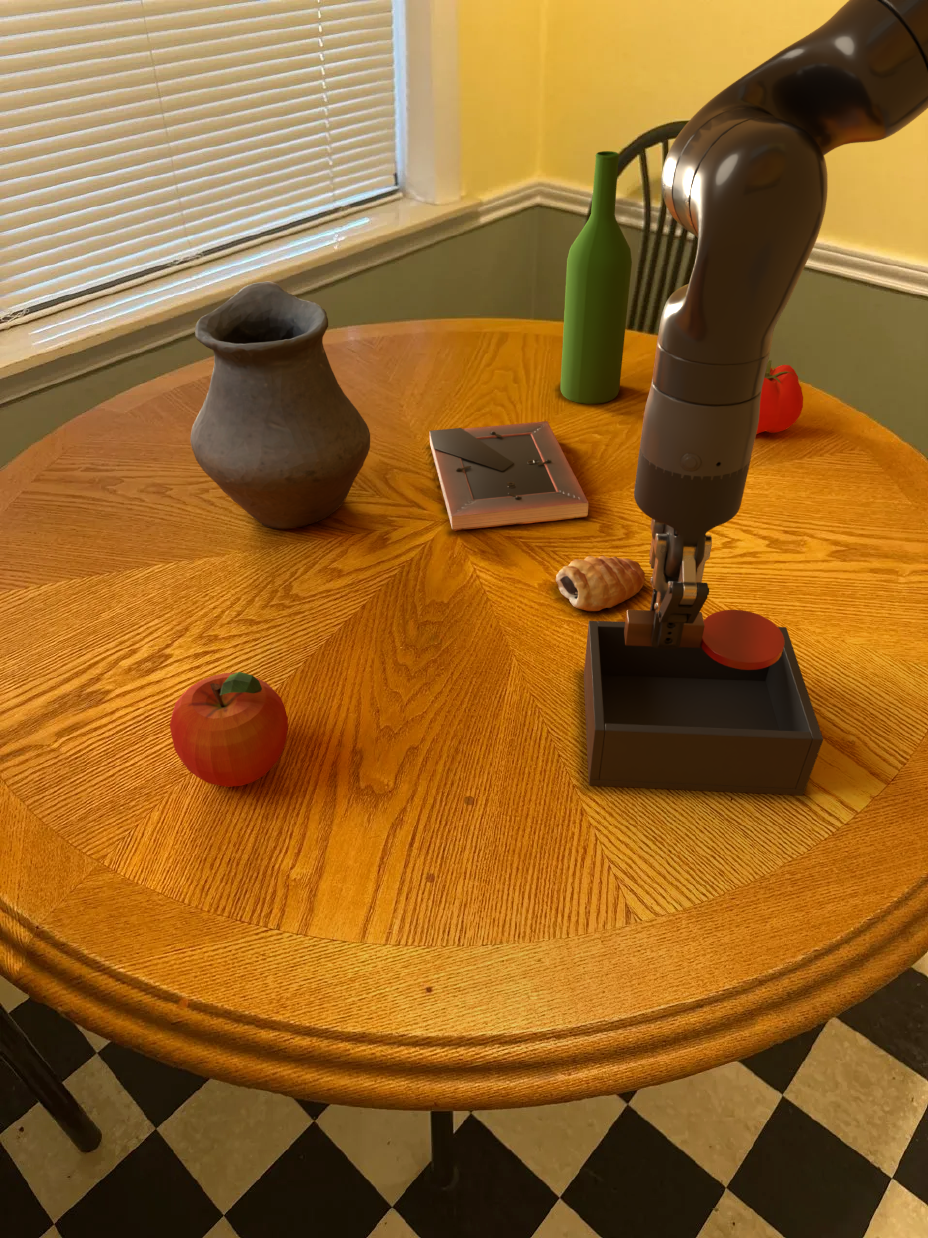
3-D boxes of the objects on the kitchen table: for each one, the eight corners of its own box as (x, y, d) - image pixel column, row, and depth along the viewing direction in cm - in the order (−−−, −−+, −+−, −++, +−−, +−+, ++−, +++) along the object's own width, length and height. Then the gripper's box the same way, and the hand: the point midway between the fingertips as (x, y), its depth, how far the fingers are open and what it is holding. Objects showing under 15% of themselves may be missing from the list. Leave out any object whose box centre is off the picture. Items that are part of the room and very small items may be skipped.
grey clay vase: (207, 565, 98) (152, 352, 82) (211, 472, 114) (165, 280, 99) (386, 541, 101) (367, 331, 85) (364, 453, 117) (345, 264, 102)
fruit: (205, 719, 79) (180, 636, 73) (306, 725, 78) (290, 642, 72) (166, 802, 72) (135, 718, 65) (278, 810, 71) (257, 726, 65)
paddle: (773, 618, 72) (779, 595, 71) (790, 671, 67) (797, 648, 66) (621, 613, 73) (624, 590, 72) (627, 665, 68) (630, 643, 66)
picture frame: (430, 446, 119) (452, 532, 102) (429, 430, 117) (451, 514, 100) (547, 435, 120) (587, 518, 104) (547, 419, 119) (588, 500, 102)
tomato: (702, 427, 121) (712, 368, 116) (746, 403, 127) (758, 346, 121) (768, 454, 115) (781, 393, 110) (811, 427, 121) (827, 368, 115)
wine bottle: (621, 381, 134) (645, 146, 113) (616, 406, 127) (640, 161, 106) (564, 377, 135) (577, 144, 115) (556, 401, 129) (568, 159, 108)
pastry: (623, 563, 97) (627, 535, 94) (657, 597, 92) (662, 568, 89) (550, 585, 94) (551, 556, 91) (581, 621, 89) (584, 592, 87)
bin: (770, 681, 81) (786, 626, 77) (803, 795, 71) (823, 739, 67) (583, 674, 83) (588, 620, 78) (588, 785, 72) (594, 729, 68)
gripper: (771, 499, 54) (723, 697, 65) (734, 401, 64) (698, 586, 75) (649, 496, 54) (622, 693, 65) (633, 400, 65) (611, 584, 76)
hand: (663, 635), depth 70 cm, fingers closed on paddle, 2 cm apart
